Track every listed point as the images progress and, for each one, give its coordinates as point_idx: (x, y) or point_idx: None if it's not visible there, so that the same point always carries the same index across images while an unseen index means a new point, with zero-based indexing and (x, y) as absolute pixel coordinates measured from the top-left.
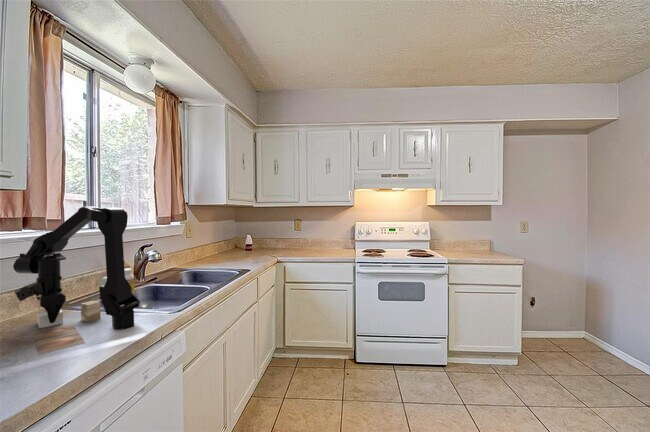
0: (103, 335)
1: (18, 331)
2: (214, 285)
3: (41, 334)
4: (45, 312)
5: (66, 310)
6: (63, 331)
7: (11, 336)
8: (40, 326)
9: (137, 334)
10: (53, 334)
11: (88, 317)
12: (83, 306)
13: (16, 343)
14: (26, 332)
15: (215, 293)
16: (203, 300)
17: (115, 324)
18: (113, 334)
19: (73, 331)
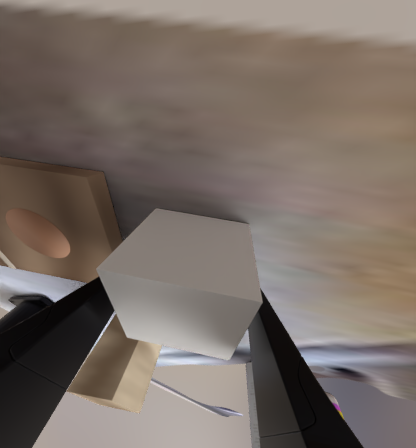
0: (20, 283)
1: (262, 133)
2: (229, 414)
3: (27, 197)
4: (191, 315)
5: (394, 338)
6: (37, 252)
7: (174, 72)
8: (143, 225)
9: (8, 305)
10: (9, 224)
11: (109, 326)
12: (101, 380)
13: (2, 80)
14: (194, 165)
15: (182, 398)
16: (157, 385)
17: (1, 319)
18: (21, 292)
19: (29, 265)
